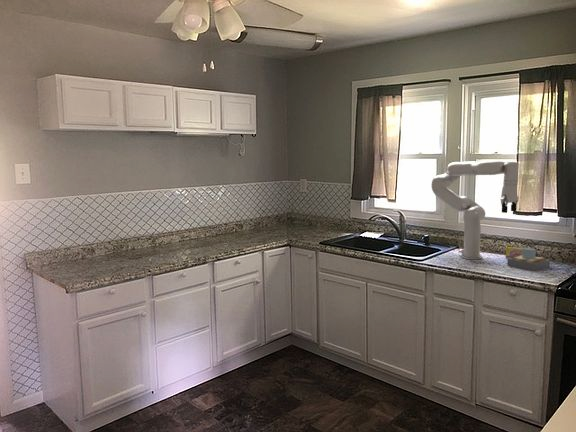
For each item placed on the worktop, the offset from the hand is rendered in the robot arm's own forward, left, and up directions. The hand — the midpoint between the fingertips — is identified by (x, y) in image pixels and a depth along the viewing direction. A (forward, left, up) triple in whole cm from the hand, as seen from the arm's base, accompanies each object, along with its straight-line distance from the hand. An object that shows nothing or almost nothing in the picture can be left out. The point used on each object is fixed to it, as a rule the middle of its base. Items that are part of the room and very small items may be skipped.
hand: (509, 211), depth 293 cm
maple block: (+16, -5, -29) cm, 34 cm away
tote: (+16, -5, -30) cm, 35 cm away
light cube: (+16, -5, -24) cm, 30 cm away
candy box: (+4, +7, -31) cm, 32 cm away
